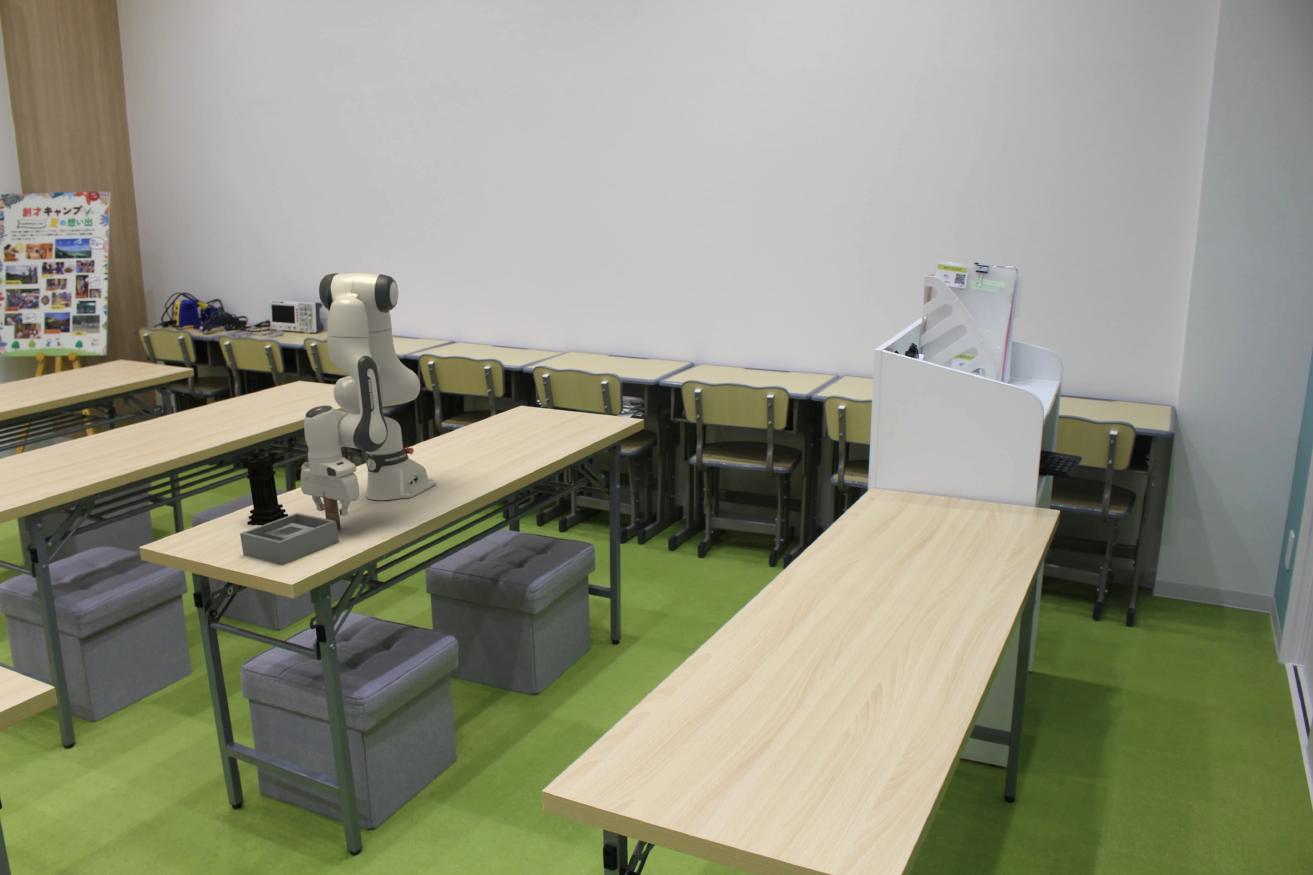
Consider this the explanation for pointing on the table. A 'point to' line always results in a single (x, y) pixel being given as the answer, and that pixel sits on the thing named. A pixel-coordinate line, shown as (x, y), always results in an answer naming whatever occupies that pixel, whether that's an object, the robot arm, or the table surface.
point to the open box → (289, 539)
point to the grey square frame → (286, 531)
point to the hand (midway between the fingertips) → (332, 512)
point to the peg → (332, 510)
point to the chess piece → (263, 488)
